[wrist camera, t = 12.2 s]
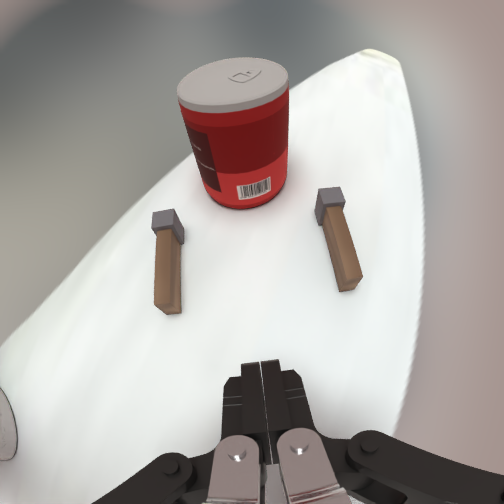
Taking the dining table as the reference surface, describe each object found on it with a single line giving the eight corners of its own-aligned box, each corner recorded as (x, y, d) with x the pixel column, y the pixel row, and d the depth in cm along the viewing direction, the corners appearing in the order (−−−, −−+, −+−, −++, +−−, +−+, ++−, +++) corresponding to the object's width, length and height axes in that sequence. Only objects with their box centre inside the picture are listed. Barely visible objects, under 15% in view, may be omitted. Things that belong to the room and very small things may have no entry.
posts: (164, 246, 23) (151, 228, 21) (164, 231, 24) (152, 212, 21) (338, 223, 23) (345, 201, 20) (334, 208, 24) (339, 186, 21)
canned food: (300, 166, 26) (306, 66, 17) (258, 225, 24) (247, 116, 14) (235, 143, 29) (221, 52, 19) (189, 193, 26) (153, 96, 16)
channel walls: (166, 314, 20) (154, 304, 18) (167, 246, 23) (157, 230, 21) (353, 289, 20) (363, 276, 18) (335, 223, 23) (340, 205, 21)
